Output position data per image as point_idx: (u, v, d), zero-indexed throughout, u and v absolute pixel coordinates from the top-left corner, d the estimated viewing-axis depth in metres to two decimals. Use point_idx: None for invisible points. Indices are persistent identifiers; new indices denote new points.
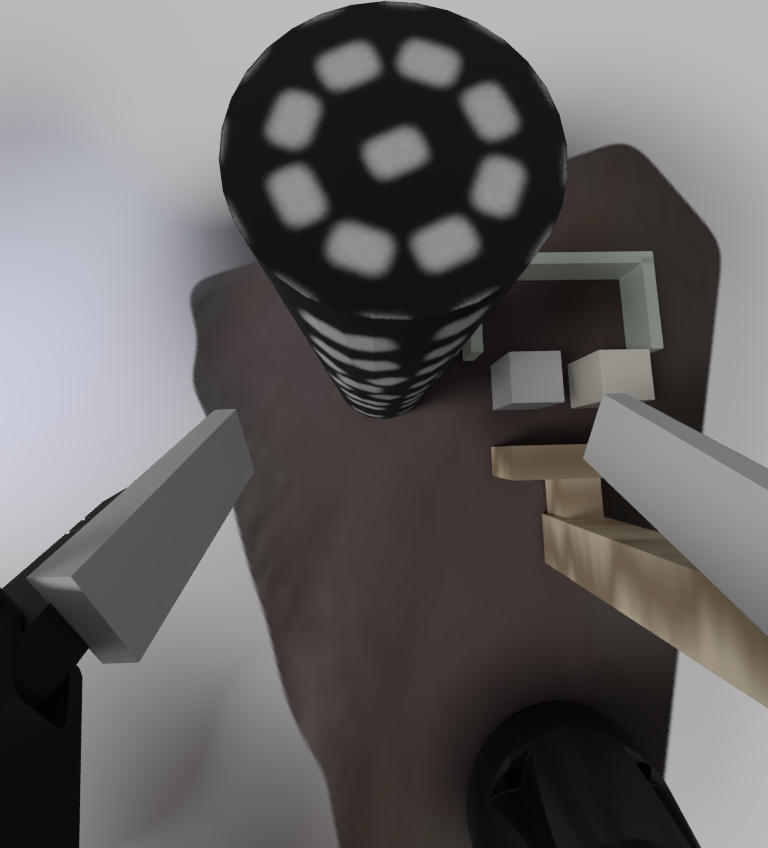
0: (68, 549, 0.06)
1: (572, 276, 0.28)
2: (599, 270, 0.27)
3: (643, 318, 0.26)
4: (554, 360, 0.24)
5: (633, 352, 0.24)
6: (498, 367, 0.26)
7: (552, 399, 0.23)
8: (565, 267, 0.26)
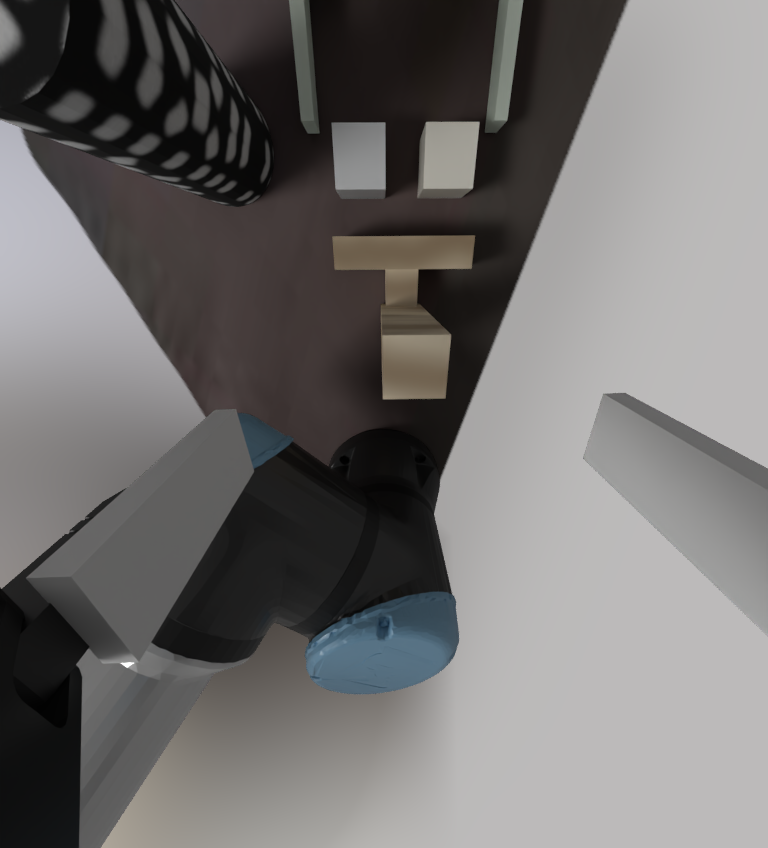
0: (68, 549, 0.06)
1: None
2: None
3: (498, 73, 0.23)
4: (378, 136, 0.23)
5: (462, 127, 0.23)
6: None
7: (374, 186, 0.24)
8: None
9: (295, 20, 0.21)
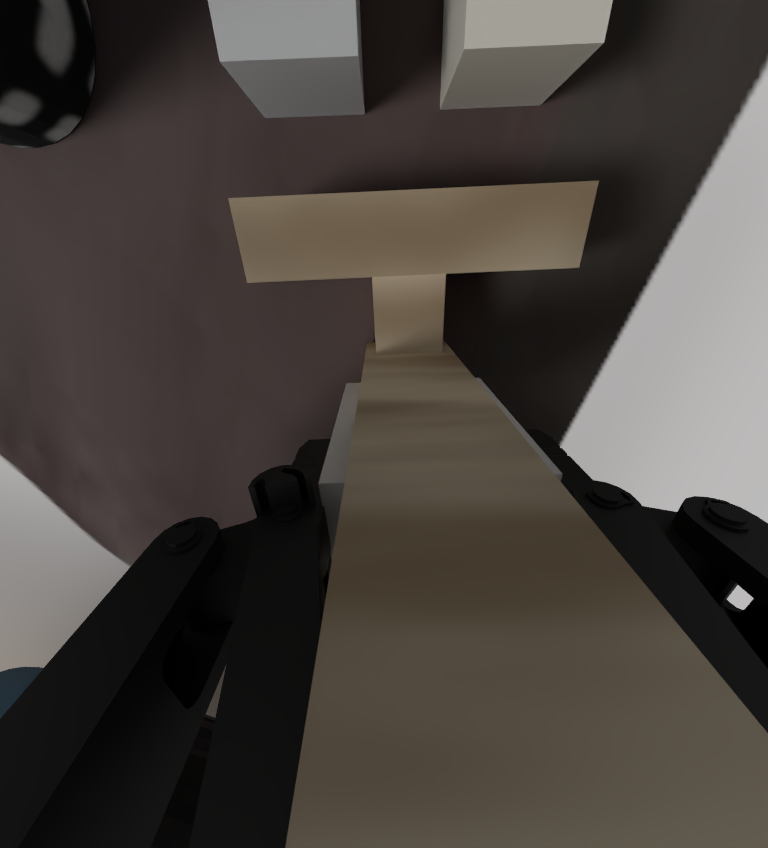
0: (331, 468, 0.07)
1: None
2: None
3: None
4: None
5: None
6: None
7: (325, 46, 0.09)
8: None
9: None
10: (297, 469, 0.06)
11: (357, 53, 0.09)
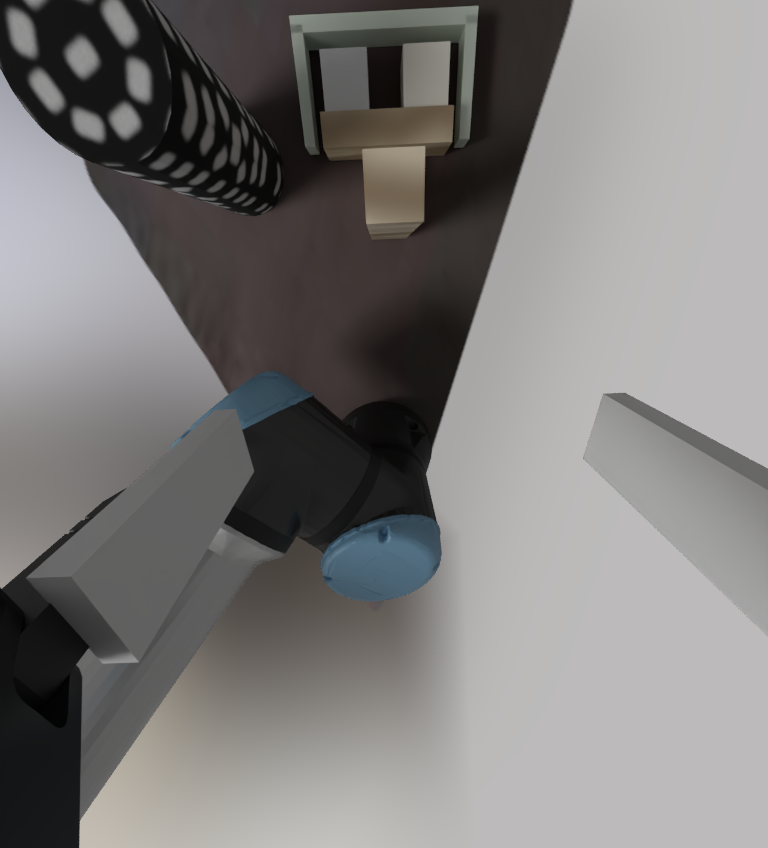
0: (68, 549, 0.06)
1: (407, 41, 0.28)
2: (430, 34, 0.27)
3: (460, 102, 0.29)
4: (361, 59, 0.26)
5: (435, 46, 0.26)
6: None
7: (359, 108, 0.28)
8: (392, 32, 0.27)
9: (299, 70, 0.27)
10: None
11: None
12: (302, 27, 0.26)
